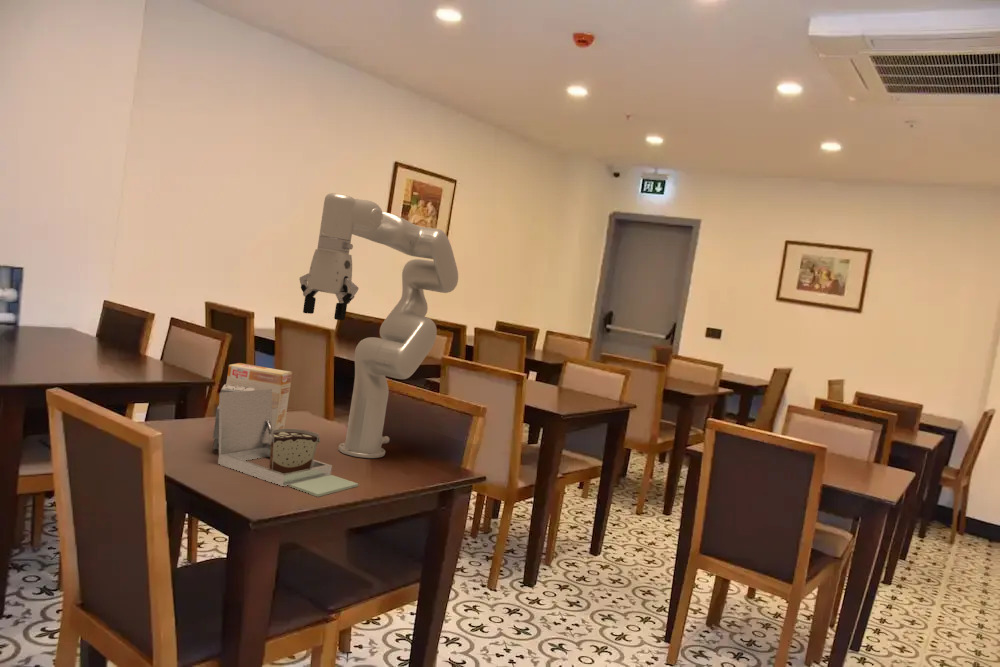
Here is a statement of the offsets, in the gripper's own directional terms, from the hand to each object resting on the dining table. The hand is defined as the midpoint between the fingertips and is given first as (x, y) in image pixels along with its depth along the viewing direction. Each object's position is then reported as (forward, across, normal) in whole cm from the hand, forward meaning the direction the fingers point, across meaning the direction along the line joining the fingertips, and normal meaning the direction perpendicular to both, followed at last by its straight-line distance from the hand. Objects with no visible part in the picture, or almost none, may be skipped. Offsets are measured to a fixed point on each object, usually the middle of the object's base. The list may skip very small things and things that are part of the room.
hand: (323, 316), depth 181 cm
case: (+37, +1, +9) cm, 38 cm away
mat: (+37, -15, +9) cm, 41 cm away
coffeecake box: (+37, +23, -6) cm, 44 cm away
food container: (+37, -3, +9) cm, 38 cm away
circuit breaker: (+37, +18, +6) cm, 42 cm away
